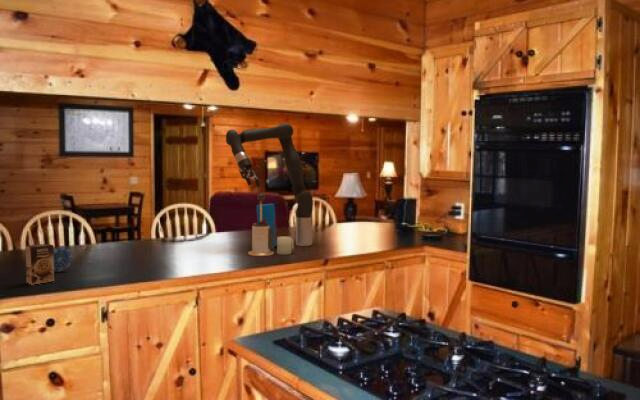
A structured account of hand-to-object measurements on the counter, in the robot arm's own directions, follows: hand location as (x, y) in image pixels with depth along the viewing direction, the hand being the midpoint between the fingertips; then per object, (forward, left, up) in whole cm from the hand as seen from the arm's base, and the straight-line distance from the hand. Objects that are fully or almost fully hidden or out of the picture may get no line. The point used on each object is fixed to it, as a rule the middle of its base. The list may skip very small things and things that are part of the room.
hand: (254, 185), depth 304 cm
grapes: (+101, +1, -38) cm, 108 cm away
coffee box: (+111, +20, -38) cm, 119 cm away
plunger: (0, +8, -26) cm, 27 cm away
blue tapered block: (-14, -9, -37) cm, 41 cm away
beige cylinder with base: (0, +8, -38) cm, 39 cm away
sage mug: (-12, +13, -38) cm, 42 cm away
